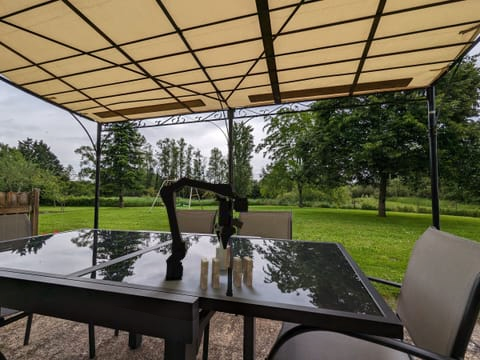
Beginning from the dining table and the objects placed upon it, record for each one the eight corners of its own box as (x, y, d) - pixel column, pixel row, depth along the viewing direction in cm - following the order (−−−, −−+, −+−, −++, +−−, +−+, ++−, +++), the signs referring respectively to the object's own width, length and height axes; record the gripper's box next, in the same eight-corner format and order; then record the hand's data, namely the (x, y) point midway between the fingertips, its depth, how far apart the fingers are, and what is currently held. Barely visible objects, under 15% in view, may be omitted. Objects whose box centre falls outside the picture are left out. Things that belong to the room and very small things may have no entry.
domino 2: (213, 288, 87) (215, 261, 88) (211, 283, 92) (212, 257, 94) (218, 288, 87) (220, 261, 88) (215, 282, 93) (217, 257, 94)
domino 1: (201, 289, 86) (203, 261, 87) (199, 283, 91) (201, 258, 92) (207, 289, 86) (208, 261, 87) (204, 283, 92) (206, 257, 93)
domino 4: (236, 286, 89) (237, 260, 90) (232, 281, 95) (233, 257, 96) (241, 286, 90) (242, 260, 91) (237, 281, 96) (238, 256, 97)
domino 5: (247, 286, 91) (248, 260, 92) (242, 281, 96) (243, 256, 97) (252, 285, 91) (253, 260, 92) (247, 280, 97) (248, 256, 98)
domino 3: (222, 257, 97) (223, 233, 98) (219, 254, 102) (220, 232, 103) (226, 257, 97) (227, 233, 98) (223, 254, 103) (224, 232, 104)
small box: (225, 270, 111) (226, 248, 112) (214, 269, 112) (215, 247, 113) (229, 266, 119) (230, 245, 120) (219, 265, 120) (220, 244, 121)
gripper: (248, 213, 95) (247, 251, 94) (236, 211, 113) (235, 243, 111) (222, 212, 92) (220, 252, 90) (214, 211, 110) (212, 244, 108)
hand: (223, 247), depth 100 cm, fingers closed on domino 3, 6 cm apart
